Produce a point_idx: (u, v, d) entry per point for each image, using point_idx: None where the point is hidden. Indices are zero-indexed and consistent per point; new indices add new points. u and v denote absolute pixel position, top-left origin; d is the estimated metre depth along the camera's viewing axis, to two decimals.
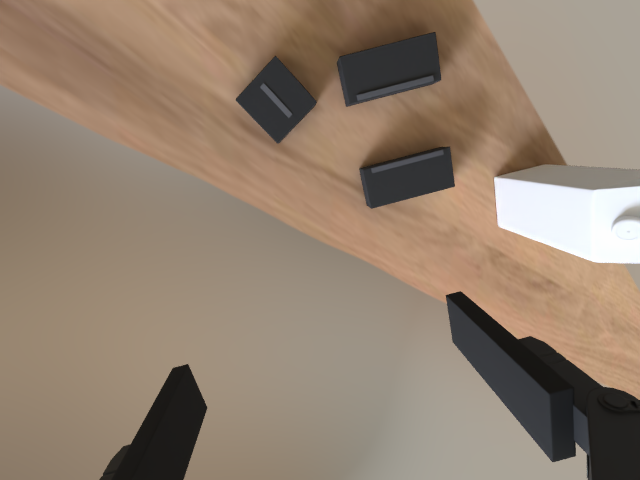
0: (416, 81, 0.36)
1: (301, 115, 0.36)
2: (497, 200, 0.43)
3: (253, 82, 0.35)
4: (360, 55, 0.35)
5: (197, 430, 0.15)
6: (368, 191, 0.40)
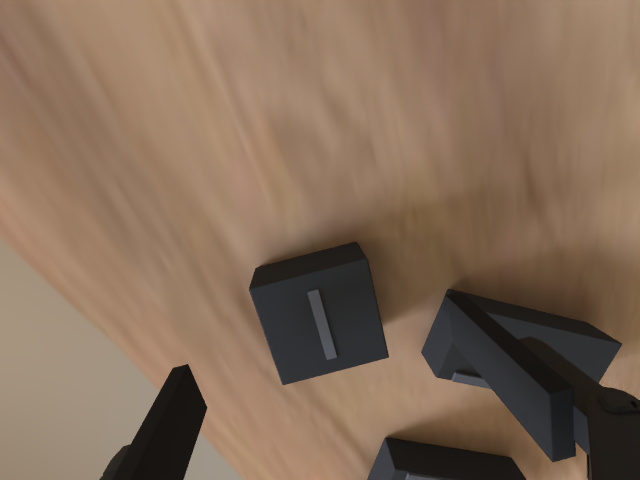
0: None
1: (350, 365, 0.18)
2: None
3: (300, 279, 0.17)
4: (499, 321, 0.19)
5: (197, 430, 0.15)
6: None
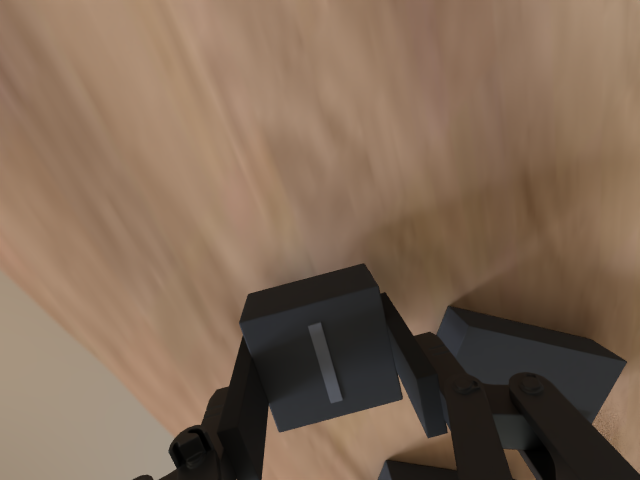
0: None
1: (358, 408, 0.16)
2: None
3: (299, 310, 0.14)
4: (501, 339, 0.18)
5: None
6: None
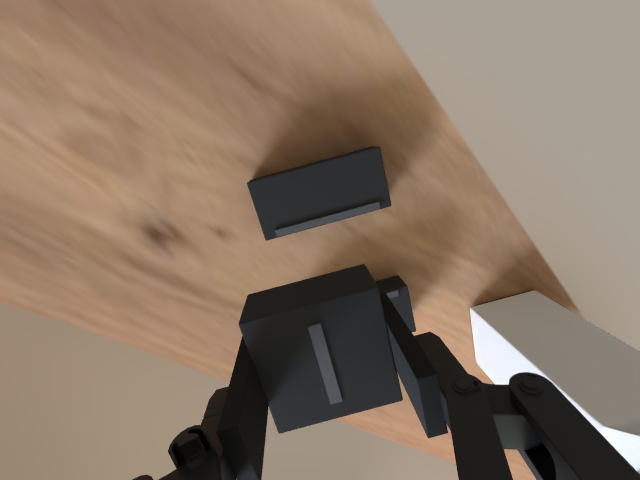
0: (356, 210, 0.27)
1: (358, 409, 0.16)
2: (474, 335, 0.34)
3: (299, 311, 0.14)
4: (276, 180, 0.25)
5: None
6: None
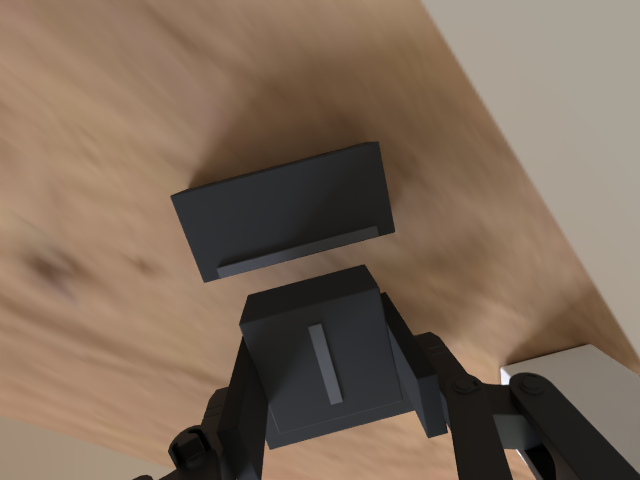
0: (342, 238, 0.17)
1: (358, 410, 0.16)
2: None
3: (299, 312, 0.14)
4: (216, 192, 0.16)
5: None
6: None
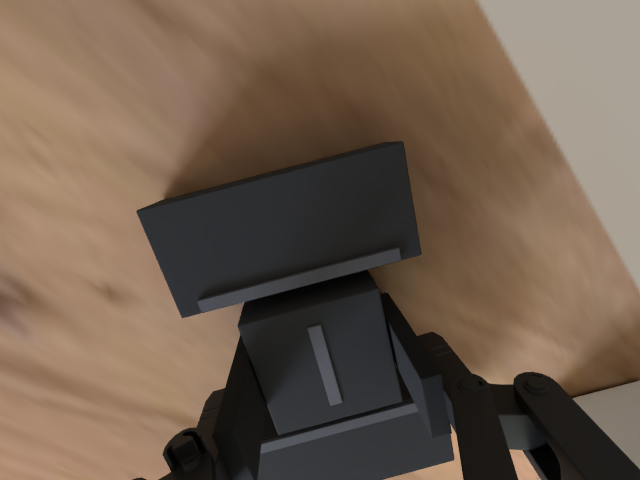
0: (355, 263, 0.14)
1: (358, 411, 0.16)
2: None
3: (298, 313, 0.14)
4: (195, 206, 0.13)
5: None
6: None
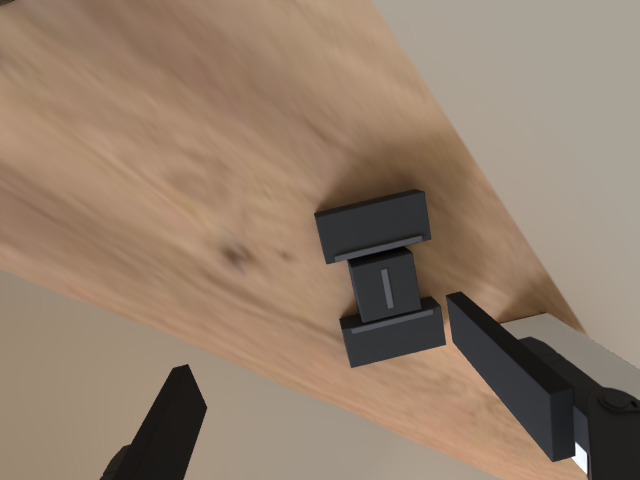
0: (402, 241, 0.32)
1: (400, 312, 0.34)
2: None
3: (377, 263, 0.32)
4: (339, 216, 0.31)
5: (197, 430, 0.15)
6: (348, 351, 0.35)
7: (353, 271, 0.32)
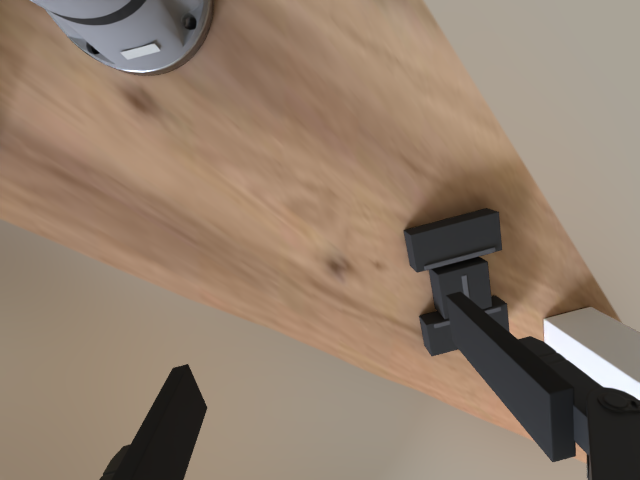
0: (479, 252, 0.39)
1: None
2: (546, 339, 0.46)
3: (459, 270, 0.39)
4: (429, 233, 0.38)
5: (197, 430, 0.15)
6: (429, 342, 0.42)
7: (439, 277, 0.39)
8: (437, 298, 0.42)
